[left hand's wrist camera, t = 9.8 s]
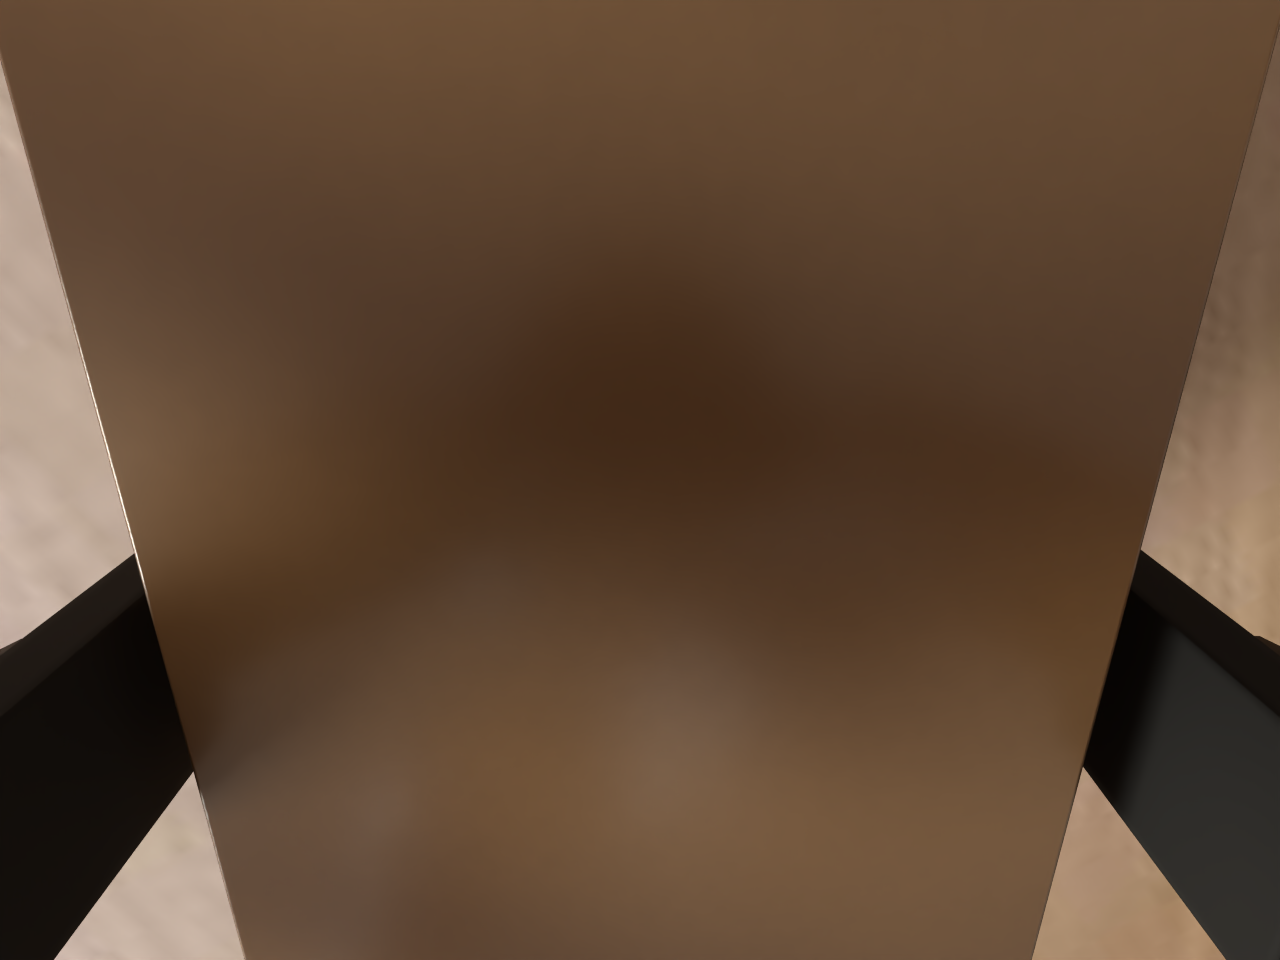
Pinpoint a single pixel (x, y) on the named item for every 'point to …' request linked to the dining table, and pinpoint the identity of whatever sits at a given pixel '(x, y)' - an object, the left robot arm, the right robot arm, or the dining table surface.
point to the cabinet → (636, 440)
